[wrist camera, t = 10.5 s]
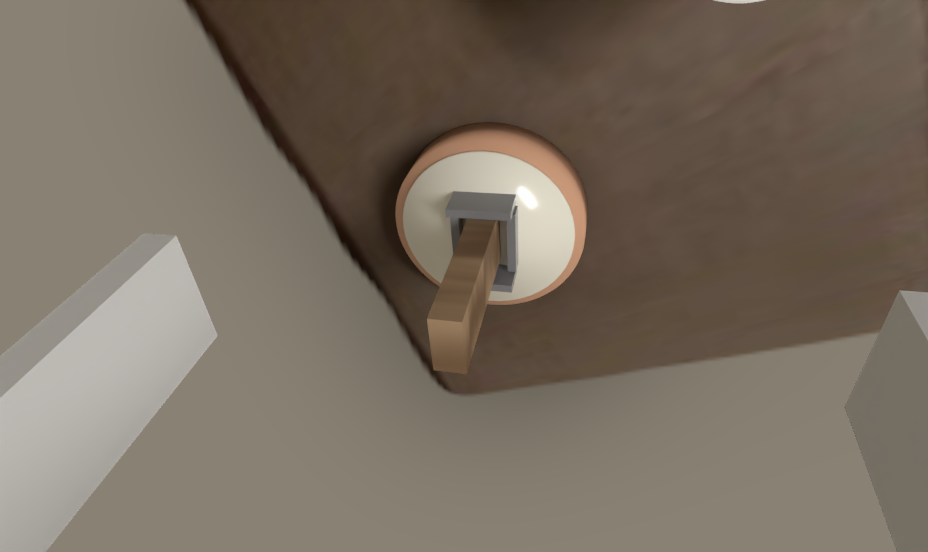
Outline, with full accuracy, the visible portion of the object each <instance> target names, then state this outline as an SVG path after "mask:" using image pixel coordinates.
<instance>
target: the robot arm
mask: <svg viewBox="0 0 928 552" xmlns="http://www.w3.org/2000/svg"><path fill="white" fill-rule="evenodd" d="M216 337H217V333H216V331H215V329H214V326H213V324H212V321H211V319H210V316H209V314H208V311H207V309H206V307H205V304H204V302H203V299H202V297H201V294H200V292H199V290H198V287H197V285H196V282H195V280H194V278H193V275H192V273H191V270H190V268H189V266H188V263H187V261H186V258H185V256H184V253H183V251H182V249H181V246H180V244H179V241H178V239H177V236H174V235H161V234H148V233H147V234H146V233H144V234H142V235H141V236H140V237H139V238H138V239H137V240H135V241H134V242H133V243H132V244H131V245H130V246H128V247H127V248H126V249H125V250H124V251H123V252H121V253H120V254H119V255H118V256H117V257H116V258H114V259H113V260H112V261H111V262H110V263H109V264H107V265H106V266H105V267H104V268H103V269H101V270H100V271H99V272H98V273H97V274H96V275H95V276H93V277H92V278H91V279H90V280H89V281H88V282H86V283H85V284H84V285H83V286H82V287H80V288H79V289H78V290H77V291H76V292H75V293H73V294H72V295H71V296H70V297H69V298H68V299H67V300H65V301H64V302H63V303H62V304H61V305H59V306H58V307H57V308H56V309H55V310H54V311H52V312H51V313H50V314H49V315H48V316H47V317H46V318H44V319H43V320H42V321H41V322H40V323H38V324H37V325H36V326H35V327H34V328H33V329H31V330H30V331H29V332H28V333H27V334H26V335H24V336H23V337H22V338H21V339H20V340H19V341H18V342H16V343H15V344H14V345H13V346H12V347H10V348H9V349H8V350H7V351H6V352H5V353H3V354H2V355H1V356H0V552H46V551H47V549H48V548H49V547H50V545H51V544H52V543H53V542H54V541H55V539H56V538H57V537H58V535H59V534H60V533H61V532H62V530H63V529H64V528H65V527H66V525H67V524H68V523H69V522H70V520H71V519H72V518H73V517H74V515H75V514H76V513H77V512H78V510H79V509H80V508H81V507H82V505H83V504H84V503H85V502H86V500H87V499H88V498H89V496H90V495H91V494H92V493H93V492H94V490H95V489H96V488H97V486H98V485H99V484H100V483H101V481H102V480H103V479H104V478H105V476H106V475H107V474H108V473H109V471H110V470H111V469H112V468H113V466H114V465H115V464H116V463H117V461H118V460H119V459H120V458H121V456H122V455H123V454H124V452H125V451H126V450H127V449H128V448H129V446H130V445H131V444H132V443H133V441H134V440H135V439H136V438H137V436H138V435H139V434H140V432H141V431H142V430H143V429H144V427H145V426H146V425H147V424H148V422H149V421H150V420H151V419H152V417H153V416H154V415H155V414H156V412H157V411H158V410H159V409H160V407H161V406H162V405H163V404H164V402H165V401H166V400H167V399H168V397H169V396H170V395H171V394H172V392H173V391H174V390H175V389H176V387H177V386H178V385H179V383H180V382H181V381H182V380H183V378H184V377H185V376H186V375H187V373H188V372H189V371H190V370H191V368H192V367H193V366H194V365H195V363H196V362H197V361H198V360H199V358H200V357H201V356H202V354H203V353H204V352H205V351H206V349H207V348H208V347H209V346H210V345H211V343H212V342H213V341H214V339H215V338H216ZM845 409H846V412H847V415H848V418H849V421H850V423H851V426H852V429H853V432H854V434H855V437H856V440H857V443H858V445H859V448H860V451H861V454H862V456H863V459H864V462H865V465H866V467H867V470H868V473H869V476H870V479H871V481H872V484H873V487H874V490H875V493H876V495H877V498H878V500H879V504H880V506H881V509H882V512H883V514H884V517H885V520H886V523H887V526H888V528H889V531H890V534H891V537H892V540H893V542H894V545H895V548H896V550H897V552H928V293H926V292H913V291H900V290H899V292H898V295H897V297H896V299H895V301H894V303H893V305H892V307H891V309H890V312H889V314H888V316H887V318H886V320H885V322H884V324H883V326H882V329H881V331H880V333H879V335H878V337H877V339H876V341H875V344H874V346H873V348H872V350H871V352H870V354H869V356H868V358H867V361H866V363H865V365H864V367H863V369H862V371H861V373H860V375H859V378H858V380H857V382H856V384H855V386H854V388H853V390H852V393H851V395H850V397H849V399H848V401H847V404H846V405H845Z"/></svg>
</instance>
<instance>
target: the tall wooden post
mask: <svg viewBox="0 0 928 552" xmlns="http://www.w3.org/2000/svg"><path fill="white" fill-rule="evenodd" d="M500 259H501V246H500V220H485V219H469V218H468V219H467V221H466V224H465V226H464V228H463V231H462V233H461V236H460V238H459V241H458V243H457V246H456V248H455V251H454V253H453V256H452V258H451V260H450V263H449V265H448V268H447V270H446V273H445V275H444V278H443V280H442V283H441V285H440V288H439V290H438V292H437V295H436V297H435V300H434V302H433V305H432V307H431V310H430V312H429V315H428V317H427V324H428V332H429V339H430V347H431V354H432V362H433V369H434V370H438V371H446V372H455V373H464V374H467V371H468V367H469V364H470V360H471V357H472V354H473V350H474V347H475V343H476V340H477V337H478V333H479V330H480V326H481V323H482V320H483V316H484V313H485V309H486V306H487V303H488V299H489V296H490V292H491V289H492V286H493V282H494V279H495V275H496V272H497V269H498V265H499V262H500Z"/></svg>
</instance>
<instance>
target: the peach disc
mask: <svg viewBox="0 0 928 552" xmlns="http://www.w3.org/2000/svg"><path fill="white" fill-rule="evenodd" d="M395 215H396V225H397V230H398V234H399V237H400V240H401V243H402V245H403V247H404V249H405V251H406V253H407V254H408V256H409V257H410V259H411V260H412V262H413V263H414V264H415V265H416V267H417V268H418V269H419V270H420V271H421V272H422V273H423V274H424V275H425V276H426V277H427V278H428V279H430V280H431V281H432V282H434V283H435V284H436V285H438V286H439V287H440V285H441V283H442V280H443V278H444V275H445V273H446V270H447V268H448V265H449V263H450V260H451V258H452V256H453V253H454V251H455V248H456V246H457V243H458V241H459V238H460V236H461V233H462V231H463V228H464V226H465V224H466V221H467V219H468V218H469V219H485V220H500V246H501V259H500V262H499V265H498V269H497V272H496V275H495V279H494V282H493V286H492V289H491V292H490V296H489V299H488V303H487V304H494V305H507V304H517V303H523V302H527V301H530V300H533V299H536V298H539V297H541V296H543V295H545V294H547V293H549V292H550V291H552V290H554V289H555V288H556V287H558V286H559V285H560V284H562V283H563V282H564V281H565V280H566V279H567V277H568V276H569V275H570V274H571V273H572V271H573V270H574V268H575V267H576V265H577V263H578V261H579V259H580V257H581V254H582V251H583V248H584V241H585V234H586V225H587V215H588V204H587V198H586V192H585V189H584V186H583V183H582V180H581V178H580V176H579V174H578V172H577V171H576V169H575V168H574V166H573V165H572V163H571V162H570V160H569V159H568V158H567V157H566V156H565V155H564V154H563V153H562V152H561V151H560V150H559V149H558V148H557V147H556V146H555V145H553V144H552V143H551V142H549V141H548V140H546V139H545V138H543V137H542V136H540V135H538V134H536V133H534V132H532V131H529V130H527V129H524V128H521V127H518V126H514V125H509V124H505V123H494V122H486V123H475V124H469V125H464V126H461V127H458V128H455V129H453V130H450V131H448V132H446V133H444V134H443V135H441V136H440V137H438V138H436V139H435V140H434V141H433V142H432V143H430V144H429V145H428V146H427V147H426V148H425V149H424V151H423V152H422V153H421V154H420V155H419V157H418V159H417V160H416V162H415V163H414V165H413V167H412V168H411V170H410V171H409V173H408V175H407V176H406V178H405V180H404V181H403V183H402V185H401V188H400V190H399V193H398V197H397V202H396V212H395Z"/></svg>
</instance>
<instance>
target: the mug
mask: <svg viewBox="0 0 928 552" xmlns="http://www.w3.org/2000/svg"><path fill="white" fill-rule="evenodd" d="M715 1H719V2H725V3H752V2H758V1H763V0H715Z"/></svg>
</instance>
